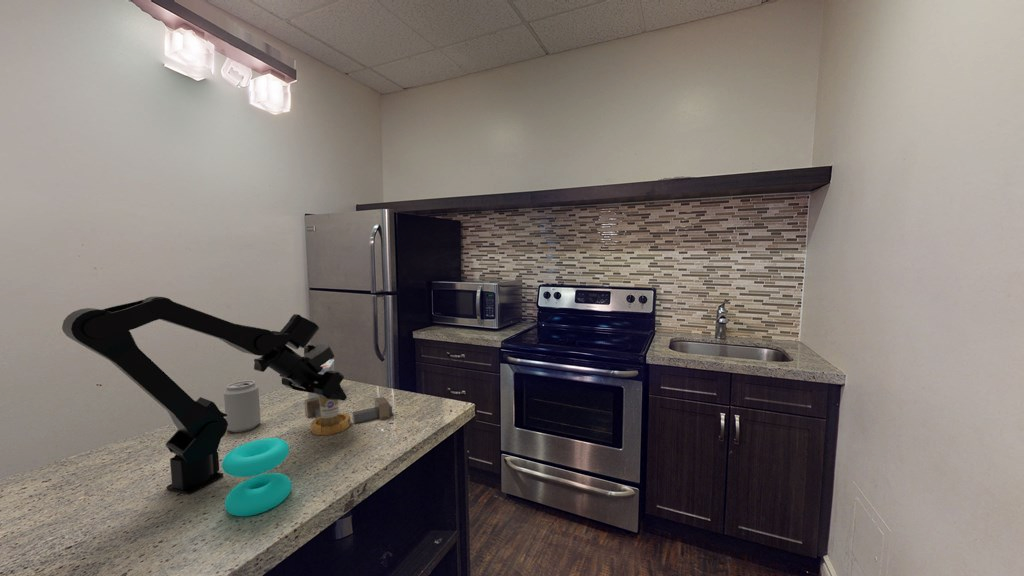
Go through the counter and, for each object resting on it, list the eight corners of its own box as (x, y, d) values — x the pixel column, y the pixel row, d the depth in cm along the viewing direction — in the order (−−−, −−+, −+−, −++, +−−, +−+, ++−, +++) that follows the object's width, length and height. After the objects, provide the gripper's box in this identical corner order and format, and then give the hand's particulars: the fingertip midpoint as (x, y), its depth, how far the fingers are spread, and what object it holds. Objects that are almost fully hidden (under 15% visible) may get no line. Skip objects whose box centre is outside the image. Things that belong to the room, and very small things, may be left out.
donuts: (211, 452, 66) (272, 431, 75) (215, 507, 67) (276, 479, 75) (236, 468, 61) (299, 443, 69) (240, 528, 61) (302, 495, 70)
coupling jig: (354, 440, 92) (353, 422, 91) (275, 428, 99) (273, 412, 99) (396, 413, 108) (395, 397, 108) (325, 404, 115) (324, 390, 115)
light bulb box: (314, 392, 128) (312, 360, 127) (336, 389, 130) (334, 358, 129) (307, 403, 117) (305, 369, 117) (331, 400, 119) (329, 366, 119)
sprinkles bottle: (325, 433, 96) (322, 381, 95) (317, 428, 99) (314, 377, 98) (343, 426, 99) (340, 376, 98) (335, 422, 102) (332, 373, 101)
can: (267, 421, 104) (264, 378, 103) (245, 434, 96) (242, 388, 95) (242, 421, 104) (239, 378, 104) (218, 433, 97) (215, 387, 96)
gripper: (334, 339, 89) (375, 373, 99) (291, 333, 99) (332, 365, 109) (303, 381, 83) (350, 413, 93) (260, 370, 93) (306, 400, 103)
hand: (334, 395), depth 100 cm, fingers open, 9 cm apart
